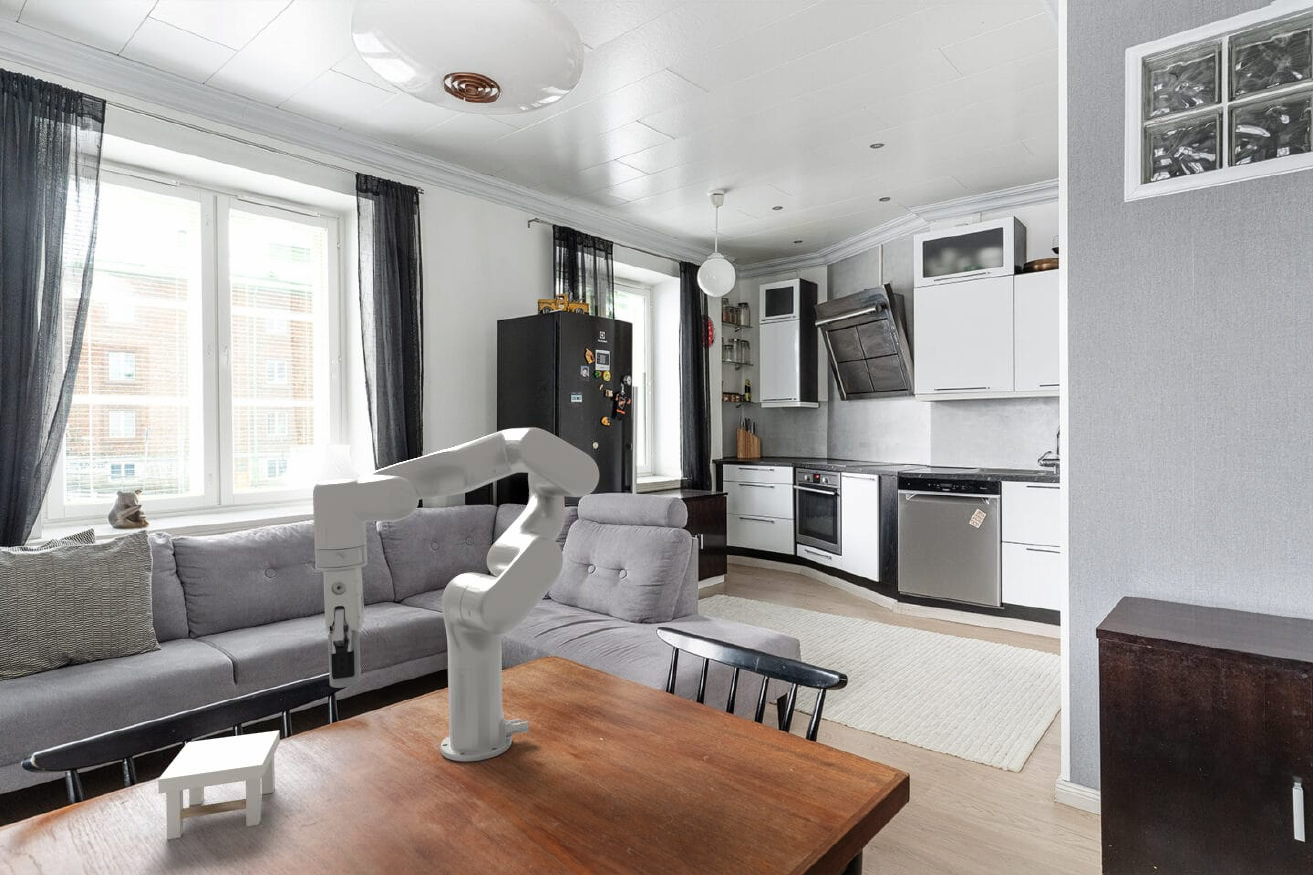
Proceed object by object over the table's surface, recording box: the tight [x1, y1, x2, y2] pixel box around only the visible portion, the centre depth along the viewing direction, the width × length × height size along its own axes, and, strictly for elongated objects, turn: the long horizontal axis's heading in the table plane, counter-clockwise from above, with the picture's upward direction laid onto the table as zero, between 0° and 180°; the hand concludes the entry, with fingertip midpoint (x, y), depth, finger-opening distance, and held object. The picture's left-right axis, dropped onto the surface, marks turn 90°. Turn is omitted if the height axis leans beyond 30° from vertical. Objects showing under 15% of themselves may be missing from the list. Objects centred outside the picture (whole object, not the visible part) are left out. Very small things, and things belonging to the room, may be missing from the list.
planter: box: [327, 626, 362, 689], centre depth 112 cm, size 4×4×10 cm
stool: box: [157, 730, 281, 841], centre depth 108 cm, size 13×13×9 cm
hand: (345, 670), depth 112 cm, fingers closed on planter, 4 cm apart
